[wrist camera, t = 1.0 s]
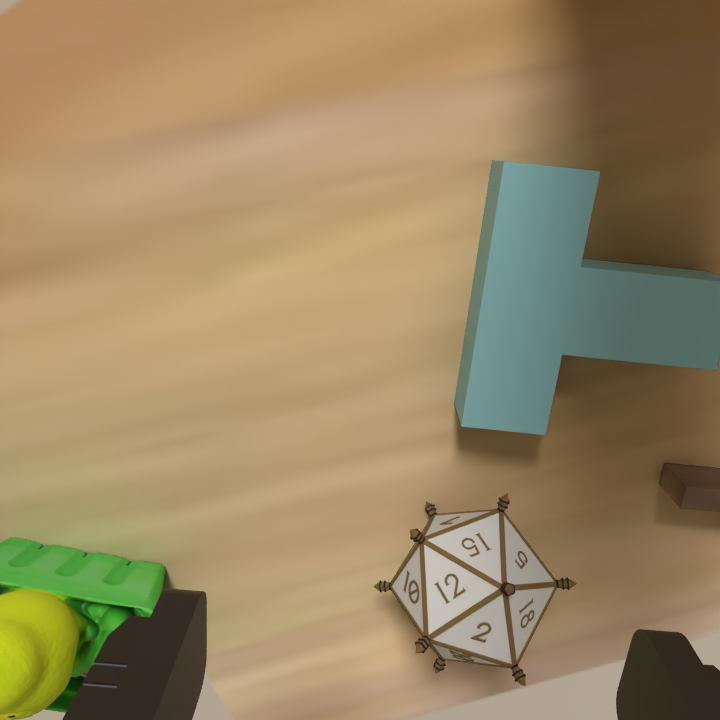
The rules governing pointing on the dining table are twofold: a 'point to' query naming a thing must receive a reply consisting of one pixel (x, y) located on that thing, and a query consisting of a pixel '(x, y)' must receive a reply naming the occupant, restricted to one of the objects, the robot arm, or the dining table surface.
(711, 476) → the walnut bay
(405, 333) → the dining table surface
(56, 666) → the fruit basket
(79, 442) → the dining table surface
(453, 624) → the game die
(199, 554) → the dining table surface
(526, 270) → the teal T block
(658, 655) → the robot arm
